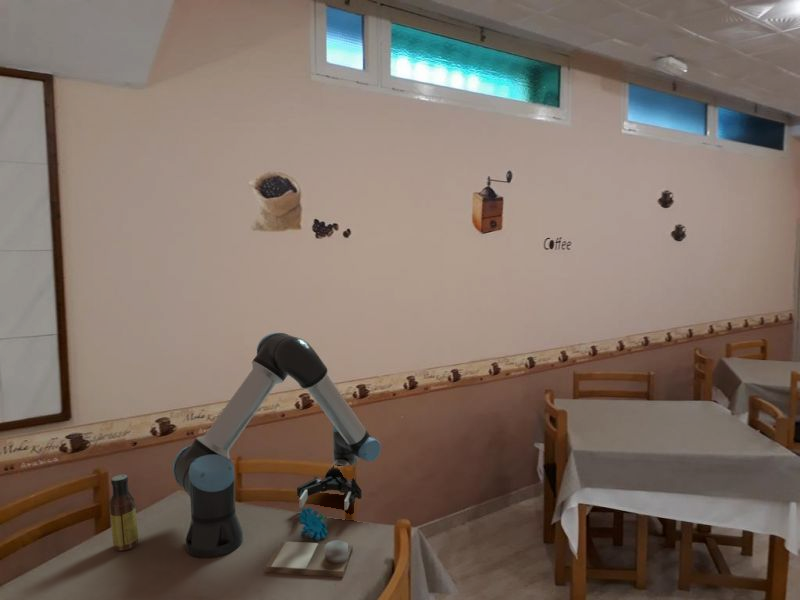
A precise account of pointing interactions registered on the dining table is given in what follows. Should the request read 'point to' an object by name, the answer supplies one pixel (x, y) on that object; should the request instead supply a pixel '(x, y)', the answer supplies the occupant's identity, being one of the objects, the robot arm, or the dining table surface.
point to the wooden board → (310, 558)
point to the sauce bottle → (123, 515)
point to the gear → (313, 523)
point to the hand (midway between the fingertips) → (322, 504)
